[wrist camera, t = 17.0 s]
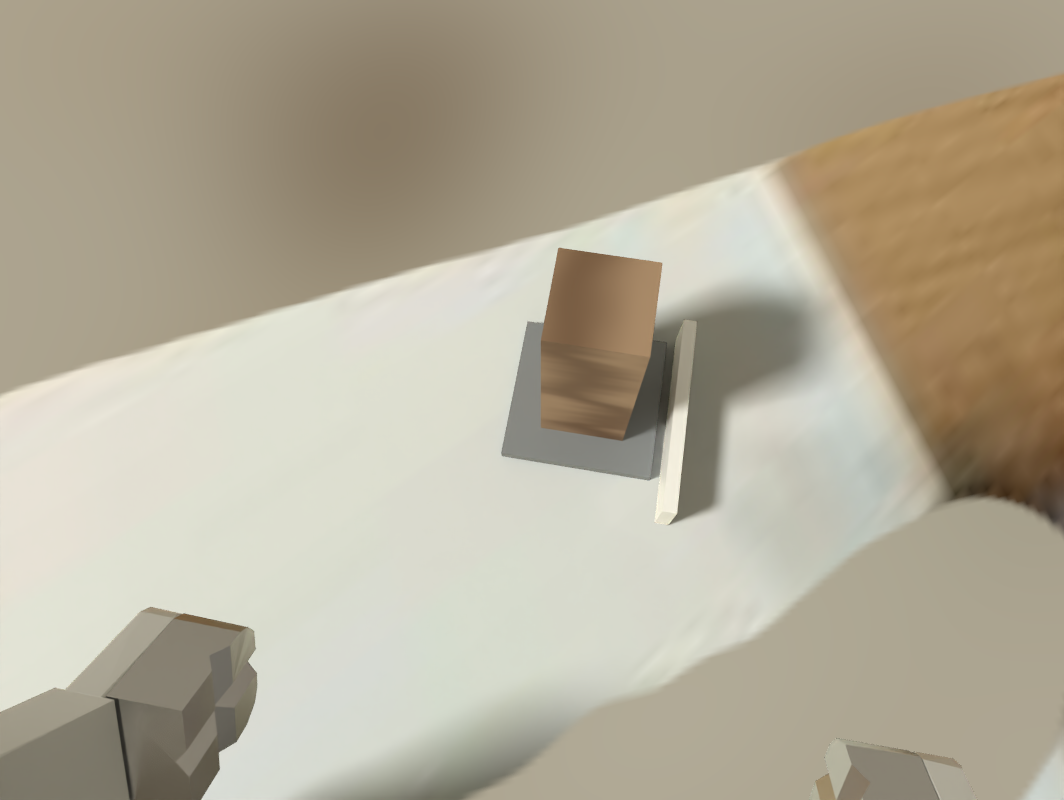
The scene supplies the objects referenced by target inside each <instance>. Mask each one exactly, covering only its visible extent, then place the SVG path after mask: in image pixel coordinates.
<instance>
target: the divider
mask: <svg viewBox="0 0 1064 800" xmlns="http://www.w3.org/2000/svg"><path fill="white" fill-rule="evenodd" d="M696 328H697V321H692V320H685V319H684V321H683V323H682V326H681V328H680V331H679V334H678V336H677V339H676V341H675V350H674V359H673V367H672V376H671V385H670V393H669V402H668V411H667V419H666V428H665V436H664V445H663V454H662V462H661V471H660V480H659V488H658V497H657V505H656V514H655V523H658V524H664V525H669V523H670V522H671V521H672V520H673V518H674V517H675V516H676V514H677V509H678V500H679V490H680V481H681V471H682V462H683V452H684V443H685V433H686V424H687V414H688V404H689V395H690V385H691V376H692V366H693V357H694V347H695V338H696Z"/></svg>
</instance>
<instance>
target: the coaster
mask: <svg viewBox="0 0 1064 800" xmlns="http://www.w3.org/2000/svg"><path fill="white" fill-rule="evenodd" d="M543 326H544V324H541V323H535V322H527V327H526V332H525V337H524V342H523V347H522V352H521V357H520V362H519V367H518V372H517V377H516V382H515V387H514V392H513V397H512V402H511V407H510V412H509V417H508V422H507V427H506V432H505V437H504V442H503V447H502V452H501V454H502V456H506V457H512V458H518V459H524V460H530V461H536V462H542V463H548V464H554V465H560V466H566V467H572V468H578V469H584V470H590V471H596V472H602V473H608V474H614V475H620V476H626V477H632V478H638V479H644V480H650V478H651V471H652V462H653V454H654V446H655V437H656V429H657V421H658V412H659V404H660V396H661V388H662V379H663V371H664V363H665V354H666V346H667V343H666V342H660V341H653V340H652V347H651V355H650V359H649V362H648V365H647V368H646V371H645V374H644V377H643V380H642V383H641V386H640V389H639V392H638V395H637V399H636V402H635V405H634V408H633V411H632V414H631V417H630V420H629V423H628V426H627V429H626V432H625V435H624V438H623V441H619V440H613V439H607V438H601V437H595V436H589V435H583V434H576V433H570V432H564V431H558V430H552V429H546V428H541V336H542V331H543Z"/></svg>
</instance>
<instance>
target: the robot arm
mask: <svg viewBox="0 0 1064 800" xmlns="http://www.w3.org/2000/svg"><path fill="white" fill-rule="evenodd" d="M255 649H256V648H255V637H254V631H253V630H252V629H250V628H248V627H244V626H240V625H235V624H230V623H226V622H221V621H217V620H212V619H207V618H203V617H198V616H194V615H189V614H181V613H176V612H171V611H167V610H162V609H158V608H153V607H150V608H147V609H145V610H143V611H141V612H139V613H138V614H137V615H136V616H135V617H134V618H133V619H132V620H131V621H130V622H129V623H128V624H127V626H126V627H125V628H124V629H123V630H122V631H121V632H120V633H119V634H118V635H117V636H116V637H115V638H114V639H113V640H112V641H111V642H110V643H109V644H108V645H107V646H106V647H105V648H104V650H103V651H102V652H101V653H100V654H99V655H98V656H97V657H96V658H95V659H94V660H93V661H92V662H91V663H90V664H89V665H88V666H87V667H86V668H85V669H84V670H83V671H82V673H81V674H80V675H79V676H78V677H77V678H76V679H75V680H74V681H73V682H72V683H71V684H70V685H69V686H68V687H67V688H66V689H65V690H64V689H58V688H53V689H51V690H49V691H47V692H44V693H42V694H40V695H38V696H35V697H33V698H31V699H29V700H27V701H24V702H22V703H20V704H18V705H15V706H13V707H11V708H9V709H6V710H4V711H2V712H0V800H201V799H202V797H203V796H204V794H205V792H206V791H207V789H208V787H209V786H210V784H211V783H212V781H213V779H214V778H215V776H216V775H217V773H218V771H219V770H220V766H219V752H220V751H222V750H224V749H225V748H227V747H229V746H230V745H232V744H234V743H235V742H237V740H238V738H239V737H240V735H241V733H242V732H243V730H244V728H245V727H246V725H247V723H248V720H249V717H250V714H251V712H252V709H253V706H254V703H255V698H256V691H257V673H256V671H255V670H254V669H253V668H252V666H251V665H250V664H249V662H248V660H249V658H250V657H251V655H252V654H253V652H254V651H255ZM825 762H826V765H827V769H828V772H829V773H828V774H827V775H825V776H823V777H821V778H820V779H818V780H816V781H815V783H814V786H813V790H812V792H811V795H810V798H809V800H978V799H977V797H976V795H975V793H974V791H973V789H972V787H971V785H970V783H969V781H968V779H967V777H966V775H965V773H964V771H963V769H962V767H961V765H960V764H958V763H957V762H956V761H955V760H954V759H953V758H947V757H941V756H935V755H930V754H924V753H918V752H910V751H907V750H901V749H896V748H890V747H884V746H879V745H874V744H868V743H862V742H857V741H851V740H846V739H840V738H836V739H835V740H834V741H833V742H832V743H831V744H830V745H829V748H828V750H827V753H826V756H825Z"/></svg>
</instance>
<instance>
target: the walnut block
mask: <svg viewBox="0 0 1064 800" xmlns="http://www.w3.org/2000/svg"><path fill="white" fill-rule="evenodd" d="M661 270H662V263H660V262H653V261H646V260H639V259H632V258H625V257H619V256H612V255H605V254H598V253H591V252H584V251H577V250H570V249H563V248H558V253H557V258H556V264H555V269H554V274H553V279H552V284H551V290H550V295H549V300H548V305H547V310H546V316H545V321H544V326H543V331H542V336H541V428H546V429H552V430H558V431H564V432H570V433H576V434H583V435H589V436H595V437H601V438H607V439H613V440H619V441H623V438H624V435H625V432H626V429H627V426H628V423H629V420H630V417H631V414H632V411H633V408H634V405H635V402H636V399H637V395H638V392H639V389H640V386H641V383H642V380H643V377H644V374H645V371H646V368H647V365H648V362H649V359H650V355H651V347H652V340H653V332H654V324H655V316H656V309H657V301H658V293H659V286H660V278H661Z"/></svg>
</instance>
